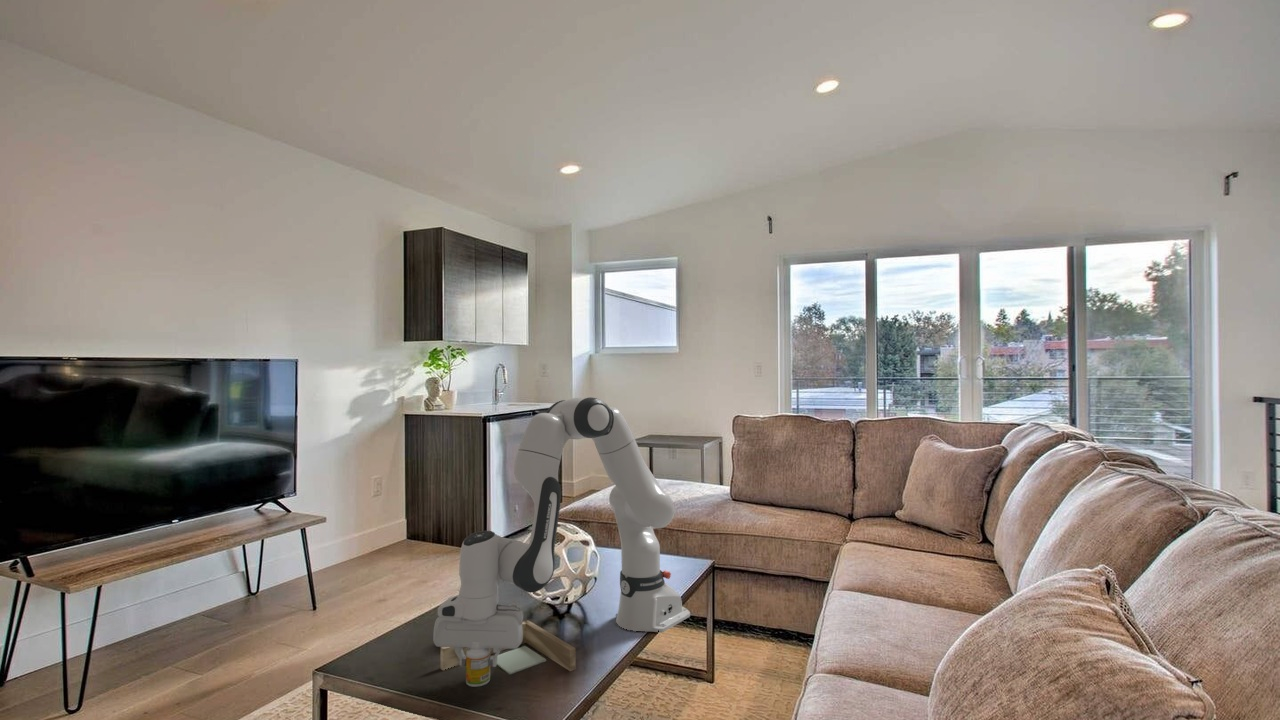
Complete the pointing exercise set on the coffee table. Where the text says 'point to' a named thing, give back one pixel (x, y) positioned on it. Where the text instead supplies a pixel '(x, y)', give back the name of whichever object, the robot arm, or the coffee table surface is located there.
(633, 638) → the coffee table surface
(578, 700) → the coffee table surface
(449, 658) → the oak corner walls
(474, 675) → the supplement bottle
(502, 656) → the mat
